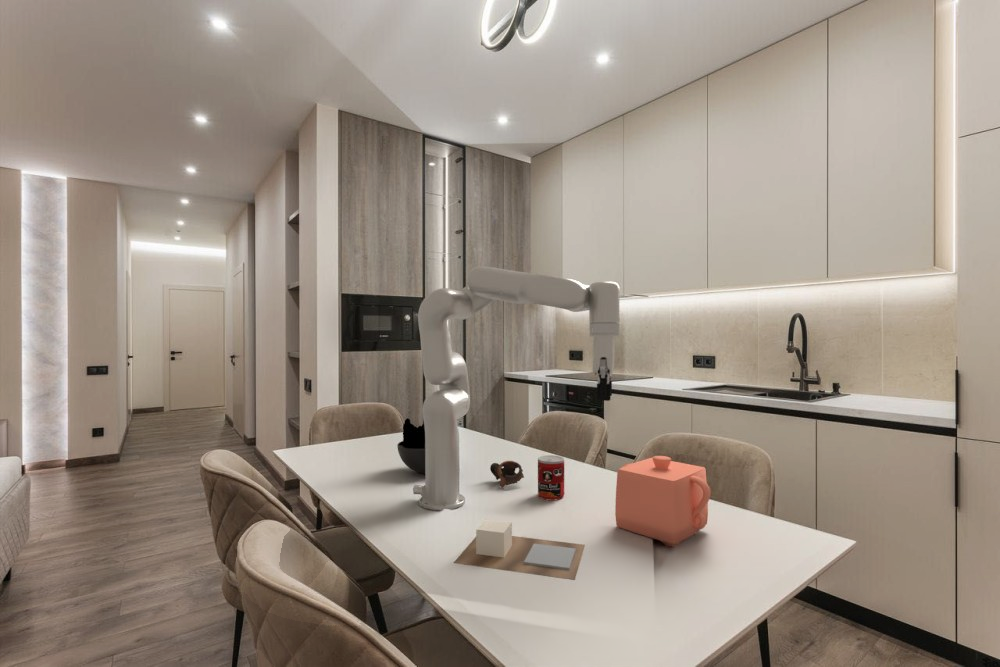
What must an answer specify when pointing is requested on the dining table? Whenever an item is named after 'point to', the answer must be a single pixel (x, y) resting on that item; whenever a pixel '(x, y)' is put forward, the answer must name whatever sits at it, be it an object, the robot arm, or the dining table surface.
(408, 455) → the coal bowl
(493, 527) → the cream cube
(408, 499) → the dining table surface
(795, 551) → the dining table surface
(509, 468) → the pottery mug
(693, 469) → the teapot
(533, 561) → the pad
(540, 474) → the canned food
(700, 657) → the dining table surface
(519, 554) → the base board
